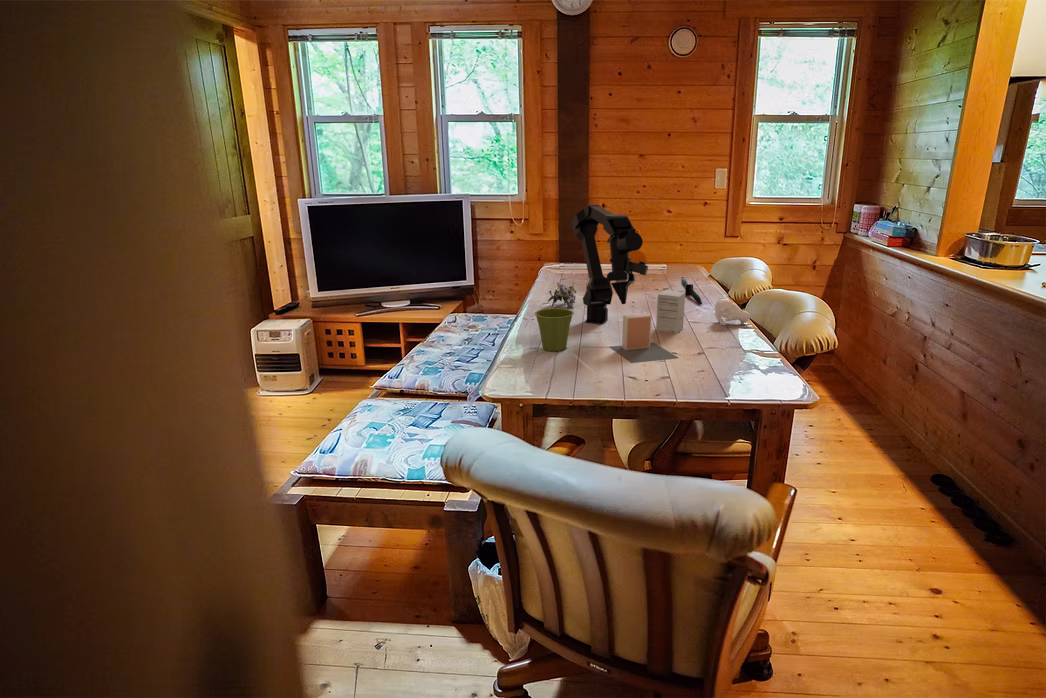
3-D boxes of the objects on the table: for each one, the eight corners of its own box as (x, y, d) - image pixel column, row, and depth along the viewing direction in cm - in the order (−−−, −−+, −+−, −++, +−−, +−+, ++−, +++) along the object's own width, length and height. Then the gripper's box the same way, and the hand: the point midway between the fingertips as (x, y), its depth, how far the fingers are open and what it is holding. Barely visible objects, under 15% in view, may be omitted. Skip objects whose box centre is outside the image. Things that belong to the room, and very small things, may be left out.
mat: (609, 347, 187) (609, 346, 187) (653, 343, 191) (653, 342, 191) (631, 363, 173) (631, 362, 172) (679, 359, 176) (679, 358, 176)
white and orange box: (621, 347, 186) (623, 315, 183) (645, 345, 188) (647, 313, 185) (625, 349, 184) (627, 317, 181) (650, 347, 186) (651, 315, 183)
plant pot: (563, 340, 195) (563, 306, 191) (580, 351, 184) (580, 315, 181) (528, 345, 191) (528, 310, 187) (543, 356, 180) (543, 319, 177)
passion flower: (571, 321, 238) (575, 301, 228) (543, 316, 238) (547, 295, 229) (575, 300, 244) (580, 279, 235) (548, 294, 245) (552, 274, 235)
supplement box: (662, 325, 210) (664, 289, 206) (683, 328, 207) (686, 292, 203) (655, 331, 204) (657, 294, 200) (676, 334, 201) (679, 296, 197)
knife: (679, 286, 266) (680, 276, 264) (686, 286, 266) (687, 276, 264) (694, 310, 238) (695, 299, 236) (702, 310, 238) (703, 299, 236)
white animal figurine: (715, 296, 213) (750, 300, 212) (710, 320, 216) (745, 324, 215) (718, 300, 207) (754, 304, 206) (714, 325, 210) (749, 328, 209)
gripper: (641, 249, 183) (645, 301, 184) (648, 253, 201) (652, 301, 202) (604, 254, 187) (608, 305, 188) (615, 257, 204) (619, 304, 205)
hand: (623, 303), depth 195 cm, fingers closed
